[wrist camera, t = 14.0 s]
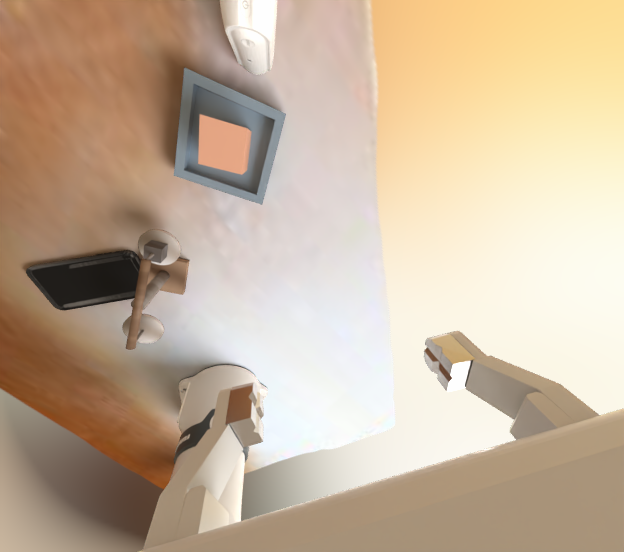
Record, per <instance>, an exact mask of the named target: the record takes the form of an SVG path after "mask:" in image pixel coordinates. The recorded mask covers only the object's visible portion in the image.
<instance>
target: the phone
mask: <svg viewBox="0 0 624 552" xmlns="http://www.w3.org/2000/svg"><path fill="white" fill-rule="evenodd" d="M140 265H141V261H140V259H139V257H138V255H137V254H136V253H135V252H133V251H130V250H125V251H117V252H113V253H111V252H110V253H105V254H97V255H94V256H88V257H82V258H75V259H69V260H63V261H57V262H50V263H44V264H38V265H34V266H31V267H29V268H28V269H27V270H26V273H27V275H28V276H29V278H30V279H31V280H32V281H33V282H34V284H35V285H36V286H37V287H38V288H39V289H40V291H41V292H42V293H43V294H44V295H45V297H46V298H47V299H48V300H49V301H50V303H51V304H52V305H53V306H54V307H55V308H57V309H59V310H70V309H75V308H81V307H87V306H93V305H98V304H104V303H110V302H115V301H121V300H127V299H133V298H135V293H136V287H137V282H138V276H139V270H140Z"/></svg>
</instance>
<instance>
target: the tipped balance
mask: <svg viewBox="0 0 624 552" xmlns="http://www.w3.org/2000/svg"><path fill="white" fill-rule="evenodd" d="M138 248H139V251H140V252H141V254H142V255H143V259H141V265H140V270H139V276H138V282H137V287H136V293H135V299H134V300H133V301H132V302H131V306H132V307H133V310H132V316H130V317H129V318H128V319H127V320H126V321H125V322H124V324H123V327H122V328H123V332H124V334H125V335H126V336H127V337H128V339H127V344H126V349H128V350H132V349H135V348H136V342H139V343H153V342H156V341H158V340H159V339H160V338H161V336H162V335H163V333H164V326H163V324H162V323H161V322H160V321H159V320H158V319H157V318H155V317H153V316H151V315H147V314H142V310H144V309H145V308H146V306H147V305H148V304H149V303H150V301H151V300H152V299H153V298H154V296H155V295H156V294H157V292H158V291H159V290H161V291H166V292H171V293H176V294H181V295H183V294H184V292H185V287H186V280H187V273H188V266H189V260H185V259H181V258H179V256H180V254H181V247H180V244H179V242H178V240H177V239H176V238H175V237H174V236H173V235H172V234H170V233H168V232H166V231H164V230H159V229H153V230H149V231H147V232H145V233H144V234H142V235H141V237H140V238H139V241H138Z"/></svg>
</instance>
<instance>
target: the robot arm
mask: <svg viewBox="0 0 624 552" xmlns="http://www.w3.org/2000/svg"><path fill="white" fill-rule="evenodd" d="M425 345H426V346H427V348H426V350H425V351H424V357H425V362H426V364H427V365H428V367H429V368H430V370H431V371H432V372H434V373H436V374H438V375H437V376H438V378H437V379H438V380H439V382H440V383H441V384H442V386H443V387H444V388H445V390H446V391H447V392H449V391H453V390H457V389H461V388H465V389H467V390H468V391H470V392H471V393H473V394H474V395H476V396H478V397H479V398H481V399H482V400H484V401H486V402H487V403H489V404H490V405H492V406H493V407H495V408H497V409H498V410H500V411H502V412H503V413H505V414H506V415H508V416H509V417H511V418H513V419H514V421H513V423H512V425H511V427H510V433H511V434H512V435H513V436H514V438H515V439H516V440H515V441H512V442H508V443H505V444H501V445H498V446H495V447H491V448H488V449H485V450H481V451H477V452H474V453H471V454H467V455H464V456H460V457H457V458H454V459H451V460H447V461H443V462H440V463H437V464H433V465H430V466H427V467H424V468H420V469H417V470H413V471H410V472H406V473H403V474H400V475H396V476H392V477H389V478H386V479H382V480H379V481H375V482H372V483H369V484H365V485H362V486H358V487H355V488H352V489H348V490H345V491H341V492H338V493H335V494H331V495H328V496H325V497H321V498H318V499H314V500H311V501H308V502H304V503H301V504H298V505H294V506H291V507H287V508H284V509H280V510H277V511H274V512H270V513H267V514H264V515H260V516H257V517H253V518H250V519H246V520H244V521H241V503H242V490H243V477H244V464H245V462H246V460H247V457H248V451H249V446H251V445H254V444H257V443H261V442H263V423H262V421H261V418H262V417H263V415H264V408H263V400H264V398H265V397H266V396H267V393H268V389H267V388H266V387H265V386H263V385H262V384H260V383H259V381H258V379H257V378H256V376H255V375H254V374H253V373H251V372H250V371H248V370H246V369H244V368H241V367H238V366H231V365H220V366H214V367H210V368H207V369H205V370H203V371H201V372H199V373H198V374H197V375H195V376H193V377H190V378H186V379H183V380H181V381H180V383H179V393H180V399H181V405H182V406H181V409H180V412H179V415H178V419H177V423H179V429H180V431H181V433H182V435H181V437H180V440H179V443H178V445H177V448H176V452H175V457H174V464H175V466H174V469H173V473H172V476H171V479H170V482H169V484H168V485H167V486H166V488H165V489H164V491H163V492H162V493H161V495H160V497H159V500H158V503H157V507H156V510H155V513H154V516H153V519H152V522H151V526H150V529H149V532H148V535H147V538H146V541H145V545H144V548H143V550H141V551H138V552H624V409H621V410H617V411H614V412H610V413H607V414H603V415H598V414H597V413H596V412H595V411H593V410H592V409H591V408H590V407H588V406H587V405H586V404H585V403H583V402H582V401H581V400H579V399H578V398H577V397H576V396H574V395H573V394H572V393H571V392H569V391H568V390H567V389H565V388H564V387H563V386H562V385H560V384H558V383H556V382H554V381H551V380H549V379H546V378H544V377H541V376H539V375H536V374H534V373H532V372H529V371H527V370H524V369H522V368H519V367H517V366H514V365H512V364H509V363H507V362H504V361H502V360H500V359H497V358H495V357H492V356H486V355H485V354H484V353H483V352H482V351H481V350H480V349H479V348H477V346H475V345H474V344H473V343H472V342H471V341H470V340H469V339H468V338H467V337H466V336H465V335H463V334H462V333H461V332H459V331H454V332H451V333H447V334H442V335H438V336H435V337H431V338H427V339H426V342H425Z"/></svg>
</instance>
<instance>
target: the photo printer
mask: <svg viewBox="0 0 624 552" xmlns="http://www.w3.org/2000/svg"><path fill="white" fill-rule="evenodd" d="M220 8H221V14H222V20H223V24H224V29H225V32H226V34H227V37H228V39H229V42H230V44H231V46H232V49H233V51H234V53H235V56H236V58H237V61H238V63H239V64H240V65H243V66H244V68H245V69H246V70H247V71H249V72H250V73H252V74H256V75H261V74H264V73H265V72H267V71H271V67H272V63H273V57H274V46H275V32H276V17H277V0H220Z"/></svg>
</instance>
